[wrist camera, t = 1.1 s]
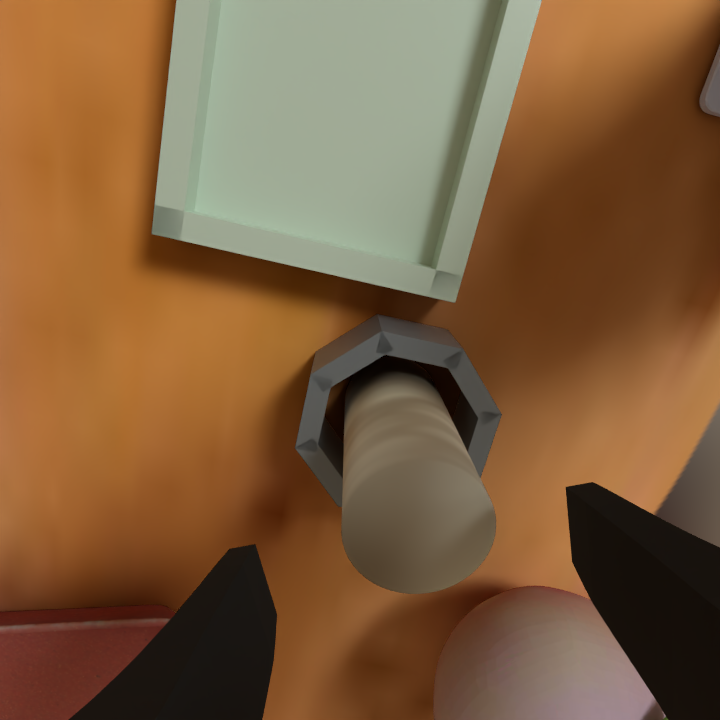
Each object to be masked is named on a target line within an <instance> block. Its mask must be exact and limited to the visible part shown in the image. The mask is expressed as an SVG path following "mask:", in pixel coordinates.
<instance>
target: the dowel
mask: <svg viewBox="0 0 720 720" xmlns="http://www.w3.org/2000/svg"><path fill="white" fill-rule="evenodd" d="M495 532H496V516H495V511H494V507H493V505H492V502H491V500H490V497H489V495H488V493H487V491H486V489H485V487H484V485H483V483H482V481H481V479H480V477H479V475H478V473H477V471H476V468H475V466H474V464H473V462H472V460H471V458H470V456H469V454H468V452H467V450H466V448H465V446H464V444H463V442H462V439H461V437H460V435H459V433H458V431H457V429H456V427H455V425H454V423H453V421H452V419H451V417H450V415H449V412H448V410H447V408H446V406H445V404H444V402H443V400H442V398H441V396H440V394H439V392H438V390H437V388H436V386H435V383H434V382H433V380H432V378H431V376H430V375H429V374H428V372H427V371H426V370H425V369H424V368H422V367H421V366H420V365H418V364H417V363H415V362H413V361H411V360H408V359H404V358H399V357H385V358H380V359H377V360H375V361H374V362H372V363H370V364H369V365H367V366H366V367H364V368H362V369H361V370H359V371H357V372H356V374H355V375H354V376H353V378H352V379H351V381H350V383H349V385H348V387H347V390H346V395H345V417H344V455H343V494H342V541H343V545H344V549H345V552H346V554H347V556H348V558H349V560H350V561H351V563H352V564H353V566H354V567H355V568H356V569H357V570H358V571H359V572H360V573H361V574H362V575H363V576H364V577H365V578H367V579H368V580H370V581H371V582H373V583H374V584H376V585H378V586H380V587H382V588H385V589H388V590H391V591H395V592H399V593H407V594H422V593H430V592H435V591H439V590H443V589H446V588H448V587H451V586H453V585H455V584H457V583H459V582H460V581H462V580H464V579H465V578H467V577H468V576H469V575H471V574H472V573H473V572H474V571H475V570H476V569H477V568H478V567H479V566H480V565H481V563H482V562H483V561H484V560H485V558H486V556H487V555H488V553H489V551H490V549H491V547H492V544H493V541H494V537H495Z"/></svg>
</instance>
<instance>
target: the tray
mask: <svg viewBox="0 0 720 720" xmlns="http://www.w3.org/2000/svg"><path fill="white" fill-rule="evenodd" d="M541 1H542V0H176V9H175V19H174V28H173V37H172V47H171V56H170V66H169V75H168V84H167V94H166V103H165V112H164V122H163V131H162V141H161V150H160V159H159V169H158V178H157V187H156V197H155V206H154V216H153V225H152V234H154V235H159V236H163V237H167V238H172V239H176V240H181V241H185V242H189V243H194V244H198V245H203V246H207V247H211V248H216V249H220V250H225V251H229V252H233V253H238V254H242V255H247V256H251V257H255V258H260V259H264V260H269V261H273V262H277V263H282V264H286V265H291V266H295V267H299V268H304V269H308V270H313V271H317V272H321V273H326V274H330V275H335V276H339V277H343V278H348V279H352V280H357V281H361V282H365V283H370V284H374V285H379V286H383V287H388V288H392V289H396V290H401V291H405V292H410V293H414V294H418V295H423V296H427V297H432V298H436V299H440V300H445V301H449V302H454V303H455V302H456V298H457V295H458V291H459V288H460V284H461V281H462V277H463V274H464V270H465V267H466V263H467V260H468V256H469V253H470V249H471V246H472V242H473V239H474V235H475V232H476V228H477V225H478V221H479V218H480V214H481V211H482V207H483V204H484V200H485V197H486V193H487V190H488V186H489V183H490V179H491V176H492V172H493V169H494V165H495V162H496V158H497V155H498V151H499V148H500V144H501V141H502V137H503V134H504V130H505V127H506V123H507V120H508V116H509V113H510V109H511V106H512V102H513V99H514V95H515V92H516V88H517V85H518V81H519V78H520V74H521V71H522V67H523V64H524V61H525V57H526V54H527V50H528V47H529V43H530V40H531V36H532V33H533V29H534V26H535V22H536V19H537V15H538V12H539V8H540V5H541Z"/></svg>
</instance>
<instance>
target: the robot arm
mask: <svg viewBox="0 0 720 720" xmlns="http://www.w3.org/2000/svg"><path fill="white" fill-rule="evenodd" d="M699 103H700V107H701V109H702V110H703V111H704V112H705V113H707V114H711V115H714V116H718V117H720V46H719V48H718V51H717V53H716V56H715V59H714V61H713V64H712V67H711V69H710V72H709V74H708V77H707V80H706V82H705V85H704V87H703V90H702V93H701V95H700V100H699ZM566 496H567V508H568V519H569V530H570V541H571V553H572V562H573V564H574V567H575V569H576V571H577V573H578V575H579V577H580V579H581V581H582V583H583V585H584V587H585V589H586V591H587V593H588V595H589V597H590V599H591V601H592V603H593V605H594V606H595V608H596V609H597V611H598V612H599V614H600V616H601V617H602V619H603V620H604V622H605V623H606V625H607V626H608V628H609V629H610V631H611V633H612V634H613V636H614V637H615V639H616V640H617V642H618V643H619V645H620V646H621V648H622V649H623V651H624V652H625V654H626V655H627V657H628V658H629V660H630V661H631V663H632V665H633V666H634V668H635V669H636V671H637V672H638V674H639V675H640V677H641V678H642V680H643V681H644V683H645V684H646V686H647V687H648V689H649V690H650V692H651V693H652V695H653V696H654V698H655V699H656V701H657V703H658V704H659V706H660V707H661V709H662V711H663V712H664V714H665V716H666V717H667V719H668V720H720V548H719V547H717V546H715V545H713V544H711V543H709V542H707V541H704V540H702V539H700V538H698V537H696V536H694V535H692V534H690V533H688V532H686V531H684V530H682V529H680V528H678V527H676V526H674V525H672V524H670V523H668V522H666V521H664V520H662V519H661V518H659V517H657V516H655V515H653V514H651V513H649V512H647V511H646V510H644V509H642V508H640V507H638V506H636V505H635V504H633V503H631V502H629V501H627V500H625V499H624V498H622V497H620V496H618V495H616V494H614V493H613V492H611V491H609V490H607V489H605V488H603V487H601V486H599V485H597V484H595V483H593V482H591V483H586V484H580V485H575V486H569V487H566ZM276 622H277V613H276V610H275V607H274V603H273V600H272V597H271V594H270V590H269V587H268V584H267V581H266V577H265V574H264V571H263V568H262V564H261V561H260V558H259V555H258V551H257V548H256V545H255V544H254V545H248V546H243V547H237V548H232V549H229V550H228V551H227V553H226V554H225V555H224V556H223V557H222V558H221V559H220V561H219V562H218V563H217V564H216V566H215V567H214V568H213V569H212V570H211V572H210V573H209V574H208V575H207V576H206V578H205V579H204V580H203V581H202V583H201V584H200V585H199V586H198V587H197V589H196V590H195V591H194V592H193V593H192V595H191V596H190V597H189V598H188V599H187V601H186V602H185V603H184V604H183V605H182V606H181V608H180V609H179V610H178V611H177V612H176V614H175V615H174V616H173V617H172V618H171V619H170V620H169V621H168V623H167V624H166V625H165V626H164V627H163V628H162V629H161V630H160V631H159V632H158V633H157V635H156V636H155V637H154V638H153V639H152V640H151V641H150V642H149V643H148V644H147V646H146V647H145V648H144V649H143V650H142V651H141V652H140V653H139V654H138V655H137V656H136V657H135V658H134V659H133V660H132V661H131V662H130V663H129V664H128V665H127V666H126V667H125V668H124V669H123V670H122V671H121V672H120V673H119V674H118V675H117V676H116V677H115V678H114V679H113V680H112V681H111V682H110V683H109V684H108V685H107V686H106V687H105V688H104V689H102V690H101V691H100V692H99V693H98V694H97V695H96V696H95V697H94V698H93V699H92V700H91V701H89V702H88V703H87V704H86V705H85V706H84V707H83V708H81V709H80V710H79V711H78V712H77V713H75V714H74V715H73V716H72V717H71V718H70V719H68V720H262V718H263V713H264V708H265V703H266V698H267V692H268V687H269V682H270V677H271V672H272V666H273V661H274V650H275V638H276Z"/></svg>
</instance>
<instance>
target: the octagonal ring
mask: <svg viewBox="0 0 720 720" xmlns="http://www.w3.org/2000/svg"><path fill="white" fill-rule="evenodd" d="M384 355H390V356H394V357H399V358H404V359H408V360H413V361H418V362H422V363H427V364H432V365H436V366H441V367H445V368H448V369H449V371H450V372H451V374H452V376H453V377H454V379H455V381H456V382H457V384H458V386H459V387H460V389H461V393H460V396H459V399H458V402H457V406H456V409H455V412H454V416H453V419H452V421H453V423H454V425H455V427H456V429H457V431H458V433H459V435H460V437H461V439H462V442H463V444H464V446H465V448H466V450H467V452H468V454H469V456H470V458H471V460H472V462H473V464H474V466H475V468H476V471H477V473H478V475H479V477H480V478H481V475H482V472H483V469H484V466H485V463H486V460H487V457H488V454H489V451H490V448H491V445H492V442H493V439H494V436H495V433H496V430H497V427H498V424H499V421H500V418H501V415H502V414H501V412H500V411H499V409H498V407H497V406H496V404H495V402H494V401H493V399H492V397H491V395H490V394H489V392H488V390H487V389H486V387H485V385H484V384H483V382H482V380H481V378H480V377H479V375H478V373H477V372H476V370H475V368H474V367H473V365H472V363H471V361H470V360H469V358H468V356H467V355H466V353H465V351H464V350H463V348H462V347H461V345H460V344H459V343H458V342H457V341H456V339H455V338H454V337H453V336H452V334H451V333H450V332H449V331H448V330H447V329H443V328H439V327H434V326H430V325H425V324H421V323H416V322H412V321H407V320H403V319H398V318H394V317H389V316H385V315H380V314H376V315H374V316H373V317H371V318H370V319H368V320H366V321H365V322H363V323H362V324H360V325H358V326H357V327H355V328H353V329H352V330H350V331H349V332H347V333H345V334H344V335H342V336H340V337H339V338H337V339H336V340H334V341H332V342H331V343H329V344H328V345H326V346H324V347H323V348H321V349H319V350H318V351H316V353H315V358H314V362H313V366H312V370H311V374H310V380H309V385H308V389H307V394H306V399H305V404H304V408H303V413H302V418H301V422H300V427H299V432H298V437H297V441H296V445H295V449H296V450H297V451H298V453H299V454H300V455H301V457H302V458H303V460H304V461H305V462H306V464H307V465H308V466H309V468H310V469H311V470H312V472H313V473H314V474H315V476H316V477H317V478H318V480H319V481H320V483H321V484H322V485H323V487H324V488H325V489H326V491H327V492H328V493H329V495H330V496H331V497H332V499H333V500H334V501H335V503H336V504H337V505H338V506H339V507H342V494H343V455H344V443H343V442H342V441H341V439H340V438H339V436H338V435H337V434H336V432H335V431H334V429H333V428H332V426H331V425H330V424H329V422H328V421H327V419H326V418H325V417H324V415H325V410H326V406H327V401H328V397H329V392H330V388H331V387H332V386H334V385H336V384H337V383H339V382H341V381H342V380H344V379H346V378H347V377H349V376H351V375H352V374H354V373H356V372H357V371H359V370H361V369H362V368H364V367H366V366H367V365H369V364H370V363H372V362H374V361H375V360H377V359H379V358H380V357H382V356H384Z"/></svg>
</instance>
